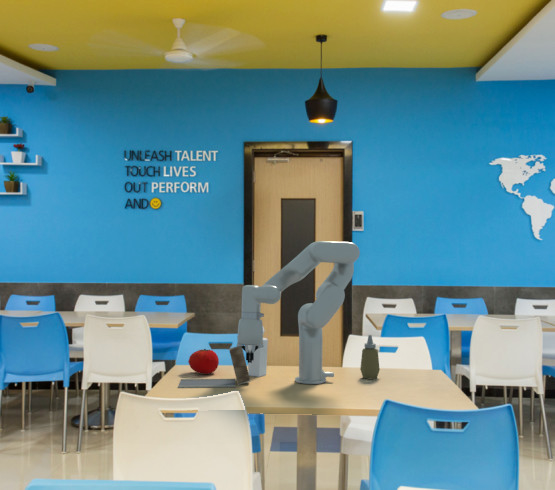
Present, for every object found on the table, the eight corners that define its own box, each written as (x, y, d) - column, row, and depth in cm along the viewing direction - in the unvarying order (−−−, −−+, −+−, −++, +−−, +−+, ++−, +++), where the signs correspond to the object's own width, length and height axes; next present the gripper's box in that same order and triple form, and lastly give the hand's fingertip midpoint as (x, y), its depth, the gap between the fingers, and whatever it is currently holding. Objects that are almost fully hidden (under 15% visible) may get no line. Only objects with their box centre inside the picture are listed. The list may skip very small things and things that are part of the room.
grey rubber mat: (235, 380, 239) (235, 378, 239) (235, 387, 225) (235, 385, 225) (180, 380, 237) (181, 379, 237) (177, 387, 223) (177, 386, 223)
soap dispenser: (259, 377, 245) (260, 324, 246) (246, 375, 248) (247, 323, 249) (267, 374, 251) (268, 323, 251) (255, 373, 254) (255, 322, 255)
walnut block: (249, 379, 235) (241, 345, 235) (250, 381, 230) (241, 347, 230) (237, 382, 234) (229, 348, 234) (237, 385, 229) (229, 350, 230)
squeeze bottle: (358, 379, 243) (358, 335, 243) (362, 375, 250) (362, 333, 251) (377, 380, 240) (377, 336, 240) (381, 377, 247) (381, 334, 248)
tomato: (224, 373, 253) (225, 349, 253) (203, 377, 244) (203, 352, 244) (204, 369, 262) (204, 345, 262) (182, 373, 252) (183, 348, 253)
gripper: (268, 315, 237) (267, 361, 237) (232, 315, 236) (230, 360, 236) (270, 317, 230) (268, 364, 229) (232, 316, 229) (230, 363, 228)
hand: (249, 362), depth 232 cm, fingers closed
